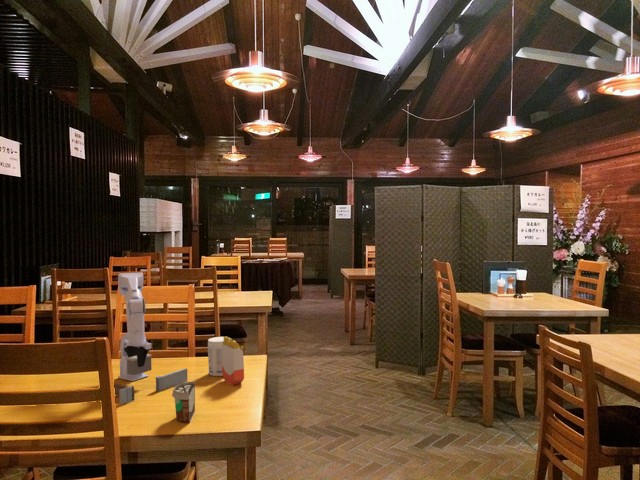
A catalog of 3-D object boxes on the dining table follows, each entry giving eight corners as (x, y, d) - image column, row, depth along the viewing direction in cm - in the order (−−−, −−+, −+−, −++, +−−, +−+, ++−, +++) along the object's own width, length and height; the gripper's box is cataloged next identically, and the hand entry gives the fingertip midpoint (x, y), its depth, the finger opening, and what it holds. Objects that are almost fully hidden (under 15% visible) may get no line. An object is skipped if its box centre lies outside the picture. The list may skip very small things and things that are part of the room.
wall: (119, 403, 168) (118, 389, 168) (184, 380, 193) (184, 367, 193) (122, 404, 167) (121, 390, 167) (188, 381, 193) (187, 368, 192)
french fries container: (232, 377, 196) (231, 334, 195) (245, 384, 187) (244, 339, 187) (222, 380, 193) (221, 335, 193) (234, 387, 184) (233, 340, 184)
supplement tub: (235, 370, 206) (234, 336, 206) (226, 377, 197) (226, 342, 196) (213, 369, 208) (213, 336, 207) (204, 376, 198) (203, 341, 198)
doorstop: (127, 373, 182) (126, 357, 182) (144, 368, 189) (144, 353, 189) (134, 375, 180) (133, 359, 180) (151, 370, 187) (151, 354, 187)
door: (132, 400, 171) (132, 387, 171) (111, 396, 176) (111, 382, 176) (135, 399, 172) (135, 386, 172) (114, 395, 177) (114, 381, 177)
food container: (177, 410, 161) (176, 381, 161) (195, 410, 162) (195, 380, 161) (168, 425, 149) (168, 394, 149) (188, 425, 149) (188, 393, 149)
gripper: (115, 330, 184) (116, 365, 184) (140, 334, 176) (141, 370, 177) (131, 327, 190) (131, 361, 190) (155, 330, 182) (156, 366, 183)
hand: (137, 365), depth 184 cm, fingers closed on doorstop, 4 cm apart
